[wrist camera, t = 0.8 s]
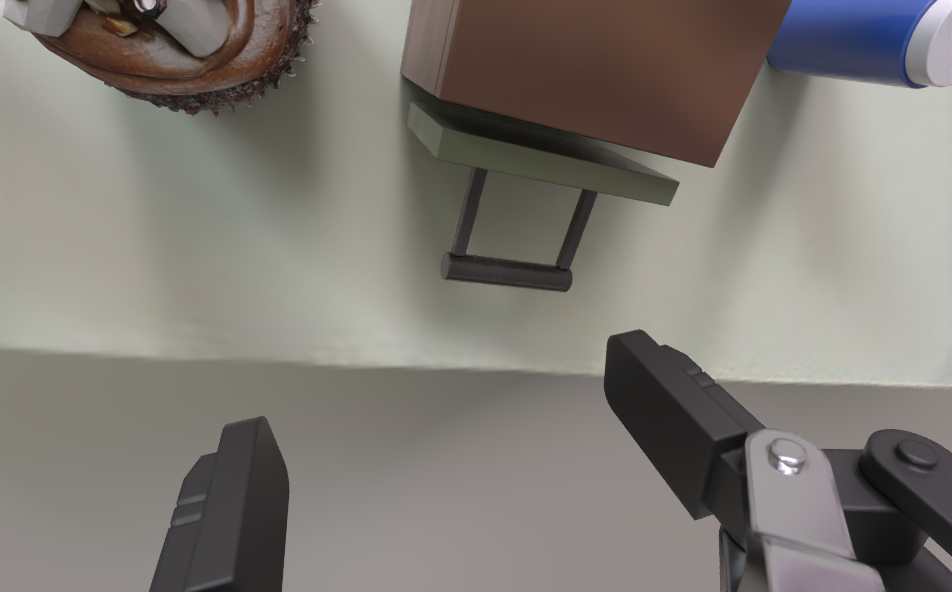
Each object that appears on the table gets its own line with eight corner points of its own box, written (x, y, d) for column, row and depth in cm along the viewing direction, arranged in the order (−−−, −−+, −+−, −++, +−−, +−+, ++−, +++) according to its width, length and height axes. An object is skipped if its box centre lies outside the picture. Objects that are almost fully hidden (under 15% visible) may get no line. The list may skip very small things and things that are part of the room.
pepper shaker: (753, 42, 29) (909, 53, 21) (807, -29, 27) (994, -45, 20) (787, 87, 31) (940, 110, 23) (839, 22, 30) (1018, 25, 22)
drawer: (562, 262, 31) (619, 318, 25) (384, 238, 27) (405, 299, 21) (691, -89, 23) (816, -122, 17) (467, -204, 19) (536, -297, 13)
